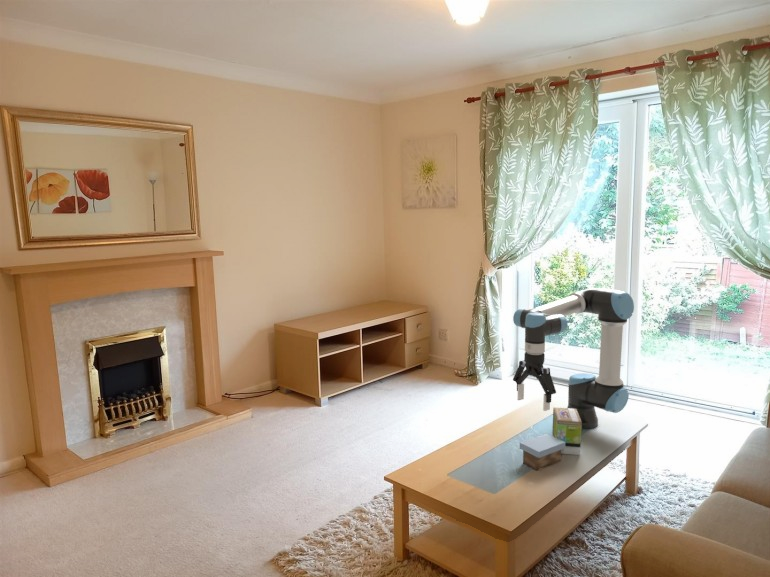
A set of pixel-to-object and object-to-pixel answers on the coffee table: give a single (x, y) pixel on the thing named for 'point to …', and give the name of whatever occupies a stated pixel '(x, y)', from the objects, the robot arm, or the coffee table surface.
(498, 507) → the coffee table surface
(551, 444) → the lid
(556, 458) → the caddy
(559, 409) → the tea box
